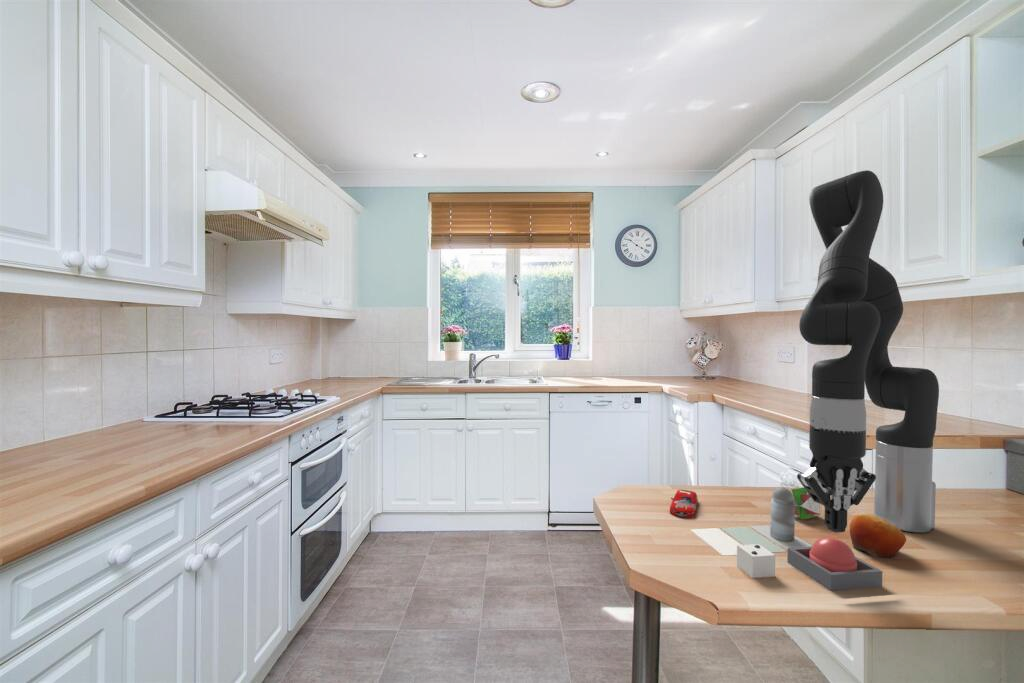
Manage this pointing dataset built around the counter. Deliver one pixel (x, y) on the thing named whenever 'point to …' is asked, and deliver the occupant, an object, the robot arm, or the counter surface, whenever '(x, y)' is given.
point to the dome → (833, 555)
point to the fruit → (876, 536)
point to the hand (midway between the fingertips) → (835, 530)
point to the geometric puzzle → (805, 504)
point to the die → (756, 560)
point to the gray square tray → (835, 580)
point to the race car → (684, 504)
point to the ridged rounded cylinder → (782, 515)
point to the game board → (744, 539)
